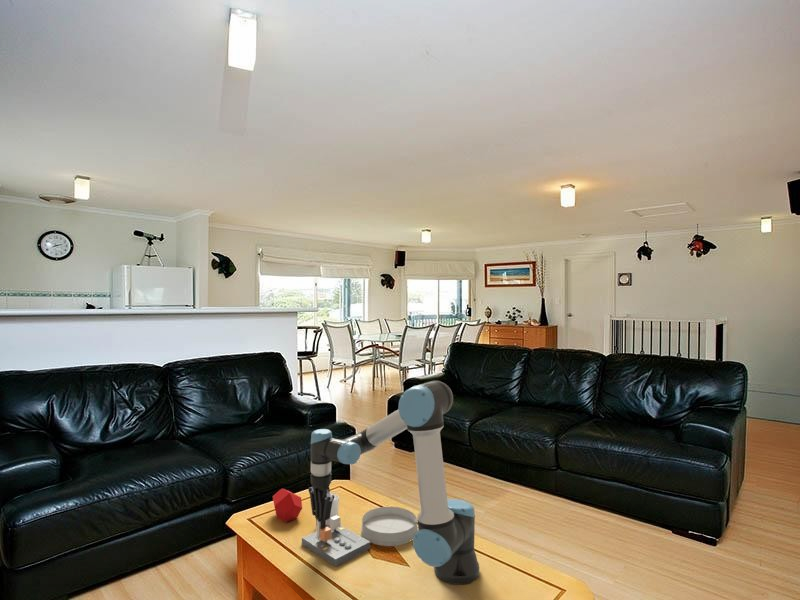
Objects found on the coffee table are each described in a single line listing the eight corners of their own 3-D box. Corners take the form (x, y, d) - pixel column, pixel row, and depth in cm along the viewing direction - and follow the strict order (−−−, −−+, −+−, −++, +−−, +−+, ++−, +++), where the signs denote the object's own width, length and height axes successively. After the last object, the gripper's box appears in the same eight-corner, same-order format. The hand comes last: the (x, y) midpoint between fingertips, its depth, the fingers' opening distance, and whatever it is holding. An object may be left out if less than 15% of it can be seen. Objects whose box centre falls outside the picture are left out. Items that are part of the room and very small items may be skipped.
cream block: (340, 529, 178) (340, 517, 178) (333, 532, 175) (333, 520, 175) (336, 527, 179) (336, 515, 179) (329, 530, 177) (329, 517, 177)
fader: (331, 542, 169) (331, 528, 169) (324, 545, 166) (324, 532, 166) (327, 539, 170) (327, 526, 170) (320, 542, 168) (320, 529, 168)
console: (370, 548, 170) (370, 540, 169) (335, 566, 158) (335, 557, 158) (335, 529, 183) (335, 521, 183) (301, 544, 172) (301, 536, 172)
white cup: (340, 517, 193) (340, 493, 193) (336, 526, 185) (336, 501, 185) (322, 516, 194) (322, 492, 194) (316, 525, 186) (317, 500, 186)
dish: (351, 540, 176) (352, 527, 175) (373, 514, 196) (373, 503, 196) (407, 551, 168) (407, 537, 168) (424, 523, 189) (424, 511, 189)
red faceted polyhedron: (277, 531, 185) (262, 506, 196) (304, 523, 193) (288, 500, 204) (284, 506, 183) (268, 482, 193) (310, 499, 191) (294, 477, 201)
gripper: (340, 474, 168) (339, 539, 169) (318, 465, 177) (318, 526, 178) (323, 480, 163) (323, 547, 163) (302, 470, 172) (301, 534, 172)
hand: (320, 536), depth 170 cm, fingers closed
